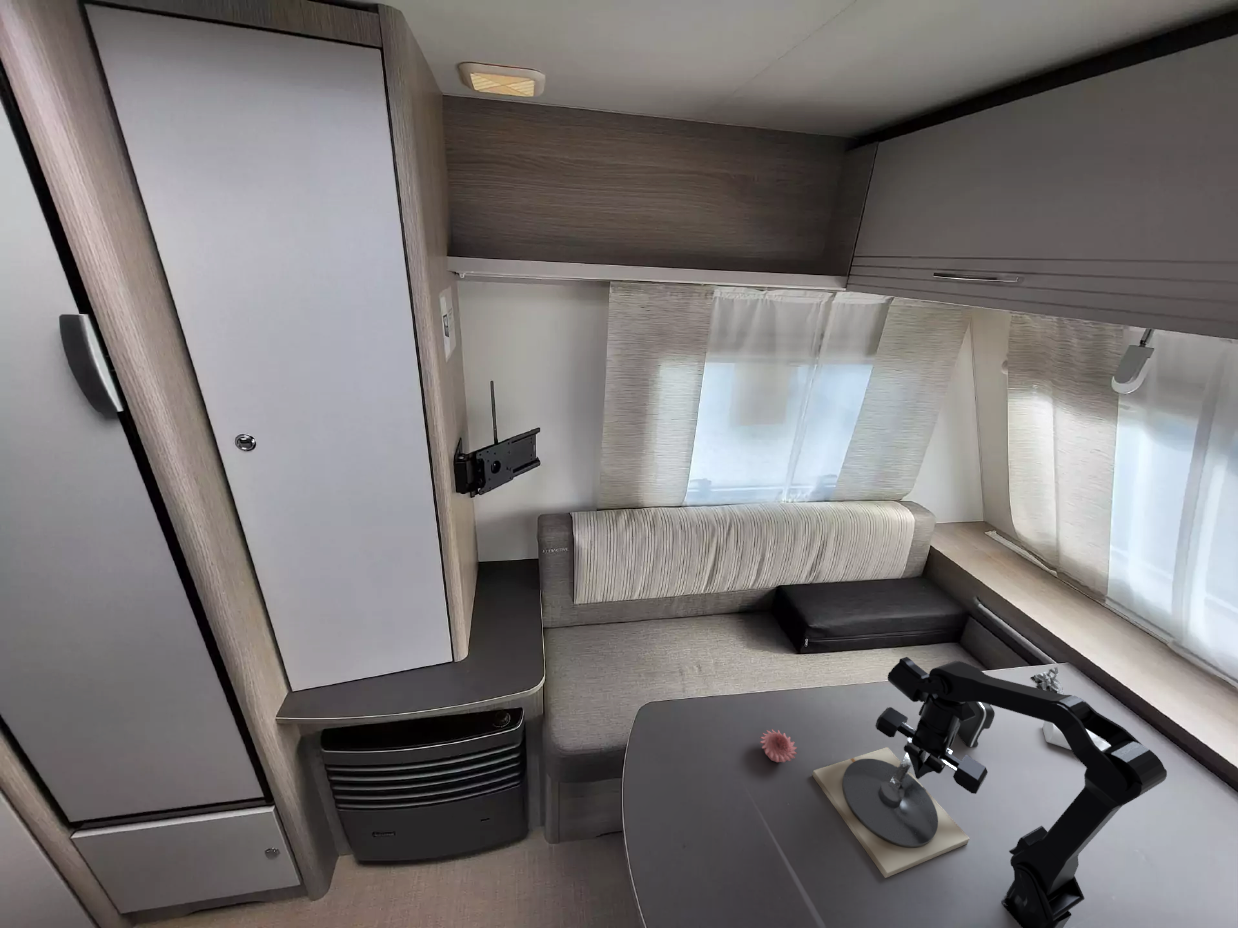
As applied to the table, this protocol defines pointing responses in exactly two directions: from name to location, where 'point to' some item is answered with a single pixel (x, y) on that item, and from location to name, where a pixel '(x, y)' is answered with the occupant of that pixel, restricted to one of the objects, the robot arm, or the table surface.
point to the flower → (778, 746)
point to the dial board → (880, 851)
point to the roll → (1058, 738)
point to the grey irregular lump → (1050, 681)
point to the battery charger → (976, 723)
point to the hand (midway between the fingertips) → (917, 777)
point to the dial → (890, 802)
